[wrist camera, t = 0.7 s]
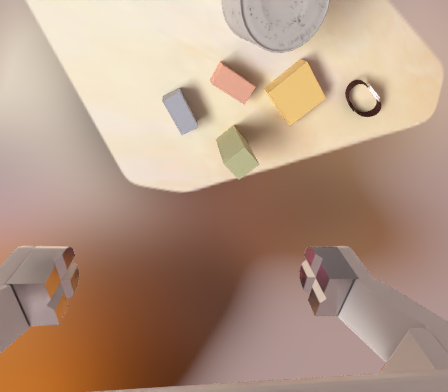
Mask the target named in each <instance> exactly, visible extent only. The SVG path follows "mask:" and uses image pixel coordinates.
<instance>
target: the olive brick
mask: <svg viewBox="0 0 448 392" xmlns="http://www.w3.org/2000/svg"><path fill="white" fill-rule="evenodd" d="M216 141H217V144H218V147H219V150H220V154H221V157H222V160H223V163H224V164H225V165H226V167H227V168H228V169H229V170H230V171H231V172H232V173H233V174H234V175H235V176H236V177H237V178H238V179H241V178H242V177H243V176H245V175H246V174H247V173H249V172H250V171H251V170H253V169H254V168H255V167H257V166H258V165H259V163H258V161H257V159H256V158H255V156H254V154H253V152H252V150H251V148H250V146H249V144H248V142H247V141H246V139H245V138H244V137H243V136H242V135H241V133H240V132H239V131H238V130H237V129H236V127H235V126H234V125H233V126H232V127H231V128H229V129H228V130H227V131H226V132H225V133H223V134H222V135H221V136H220V137H218V138H217V139H216Z"/></svg>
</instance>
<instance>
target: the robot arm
mask: <svg viewBox="0 0 448 392" xmlns="http://www.w3.org/2000/svg"><path fill="white" fill-rule="evenodd" d="M304 256H305V258H306V260H305V261H304V262H303V263H302V264H301V267H300V282H301V285H302V287H303V290H305V291H306V292H307V293H308V294H310V295H309V298H308V301H309V304H310V306H311V308H312V310H313V312H314V315H315V316H338V317H339V319H341V320H342V321H343V322H344V323H345V324H346V325H347V326H348V327H349V328H350V329H351V330H352V331H353V332H354V333H355V334H356V335H357V336H358V337H359V338H361V339H362V340H363V341H364V342H365V343H366V344H367V345H368V346H369V347H370V348H371V349H372V350H373V351H374V352H375V353H376V354H378V356H379V357H381V358H382V359H383V360H384V361H385V362H386V363H385V365H384V366H383V368H382V369H381V371H380V372H379V374H365V375H364V374H363V375H348V376H332V377H318V378H317V377H316V378H300V379H284V380H269V381H253V382H237V383H221V384H207V385H190V386H175V387H160V388H144V389H128V390H112V391H97V392H448V321H446V320H445V319H443V318H441V317H440V316H438V315H436V314H435V313H433V312H431V311H430V310H428V309H426V308H425V307H423V306H422V305H420V304H418V303H417V302H415V301H413V300H412V299H410V298H408V297H407V296H405V295H404V294H402V293H400V292H399V291H397V290H395V289H394V288H392V287H391V286H389V285H387V284H386V283H384V282H382V281H381V280H379V279H374V278H373V277H372V275H371V274H370V273H369V272H368V270H367V269H366V268H365V266H364V265H363V264H362V262H361V261H360V260H359V258H358V257H357V256H356V254H355V253H354V252H353V250H352V249H351V248H350V247H348V246H335V247H308V248H307V249H306V251H305V254H304ZM74 257H75V254H74V251H73V248H71V247H68V246H67V247H66V246H20V247H17V248H16V249H15V250H14V251H13V252H12V253H11V254H10V256H9V257H8V258H7V259H6V260H5V261H4V262H3V264H2V265H1V266H0V353H2V352H3V351H4V350H5V349H6V348H7V347H8V346H10V345H11V344H12V343H13V342H14V341H15V340H16V339H17V338H19V337H20V336H21V335H22V334H23V333H24V332H25V331H27V330H28V329H29V326H42V325H59V324H60V322H61V320H62V318H63V316H64V314H65V312H66V310H67V308H68V303H67V299H68V298H69V297H71V296H72V295H73V294H74V293H75V291H76V288H77V286H78V281H79V269H78V265H76V264H75V263H74V262H72V260H73V259H74Z"/></svg>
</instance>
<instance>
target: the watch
mask: <svg viewBox="0 0 448 392" xmlns="http://www.w3.org/2000/svg"><path fill="white" fill-rule="evenodd" d="M358 84H364V85H366V87H367V88H368V89H369V91H370V92H371V93H372V94H373V96H374V97H375V98H376V100H377V104H376V106H375V108H374V109H372V110H371V111H368V112H361V111H358V110H356V109H355V108H354V107H353V105H352V103H351V102H350V101H349V93H350V91H351V89H352V88H353V87H354V86H355V85H358ZM345 94H346V99H347V101H348V104H349V106H350V107H351V108H352V110H353V109H354V110H355V112H356V113H357V114H359V115H361V116H364V117H371V116H374V115H376V114H377V113H379V111H380V110H381V103H380V101H379V99H380V97H379V96H378V95H377V93H376V92H375V91H374V89H373V88H372V87H371V86H370V84H369V83H368V84H366V83H365V82H363V81H361V80H355V81H353V82H351V83H350V84H349V85H348V87H347V89H346V92H345ZM354 110H353V111H354Z"/></svg>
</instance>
